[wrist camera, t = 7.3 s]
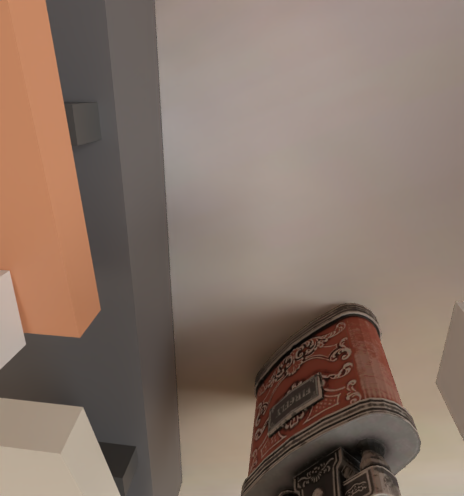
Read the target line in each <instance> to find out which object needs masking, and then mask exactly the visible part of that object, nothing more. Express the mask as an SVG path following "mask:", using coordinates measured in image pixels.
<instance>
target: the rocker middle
mask: <svg viewBox="0 0 464 496" xmlns="http://www.w3.org/2000/svg"><path fill="white" fill-rule="evenodd" d="M0 270H9V271H10V275H11V279H12V284H13V288H14V293H15V297H16V302H17V306H18V311H19V315H20V319H21V324H22V328H23V333H32V334H43V335H54V336H65V337H77V338H80V337H81V336H82V334H83V333H84V332H85V330H86V329H87V328H88V326H89V325H90V324H91V322H92V321H93V320H94V318H95V317H96V316H97V314H98V313H99V312H100V310H101V308H100V302H99V296H98V291H97V285H96V280H95V274H94V268H93V263H92V257H91V252H90V246H89V241H88V235H87V229H86V224H85V218H84V213H83V207H82V201H81V196H80V190H79V185H78V179H77V174H76V168H75V162H74V157H73V151H72V146H71V140H70V135H69V129H68V123H67V118H66V112H65V107H64V101H63V95H62V90H61V84H60V79H59V73H58V68H57V62H56V56H55V51H54V45H53V40H52V34H51V28H50V23H49V17H48V12H47V6H46V1H45V0H0Z"/></svg>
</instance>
